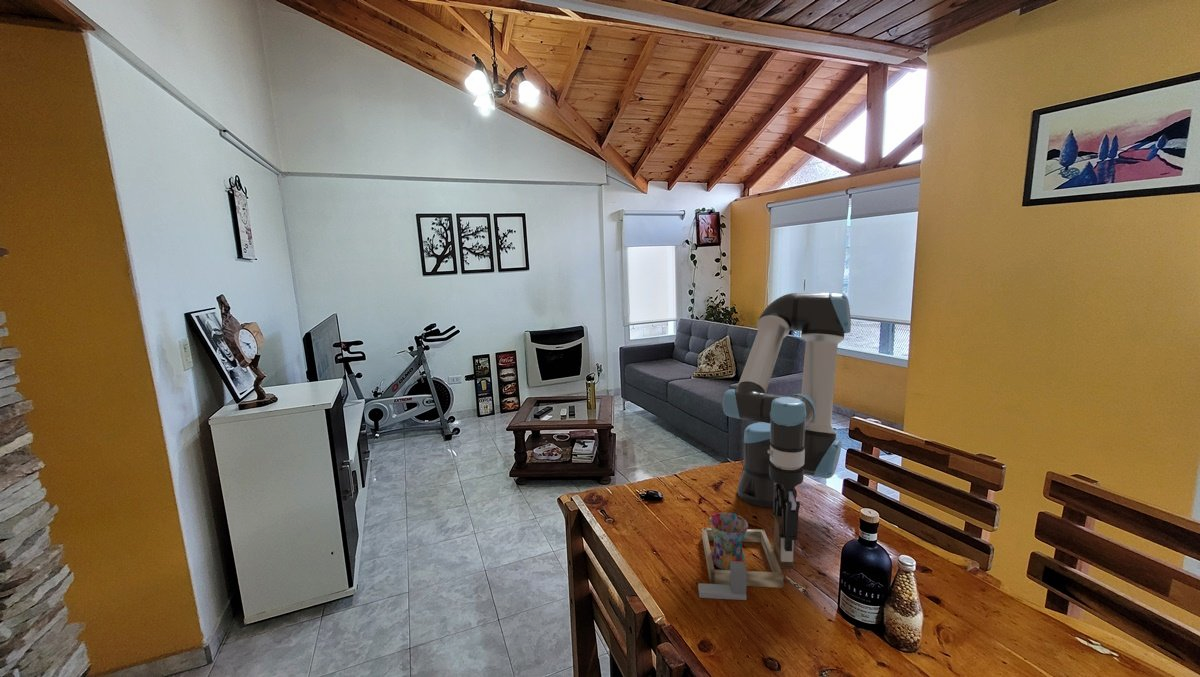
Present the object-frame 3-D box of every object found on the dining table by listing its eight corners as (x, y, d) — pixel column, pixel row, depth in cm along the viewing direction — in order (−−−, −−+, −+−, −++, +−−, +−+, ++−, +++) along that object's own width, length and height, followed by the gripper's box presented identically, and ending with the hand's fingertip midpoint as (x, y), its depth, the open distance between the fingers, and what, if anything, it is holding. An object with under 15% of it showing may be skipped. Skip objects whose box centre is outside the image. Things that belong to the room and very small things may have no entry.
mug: (737, 580, 104) (738, 538, 102) (701, 564, 110) (701, 524, 108) (758, 554, 113) (758, 515, 111) (723, 541, 119) (723, 504, 117)
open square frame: (780, 540, 118) (781, 501, 117) (802, 588, 101) (804, 543, 99) (702, 538, 121) (702, 499, 119) (710, 584, 103) (710, 540, 101)
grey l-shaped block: (743, 590, 101) (744, 561, 100) (746, 600, 98) (746, 569, 97) (698, 588, 102) (698, 559, 101) (699, 597, 99) (699, 567, 98)
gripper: (761, 449, 115) (759, 533, 118) (779, 480, 98) (777, 577, 101) (792, 449, 114) (789, 534, 117) (816, 480, 97) (812, 579, 100)
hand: (783, 554), depth 109 cm, fingers closed on open square frame, 4 cm apart
